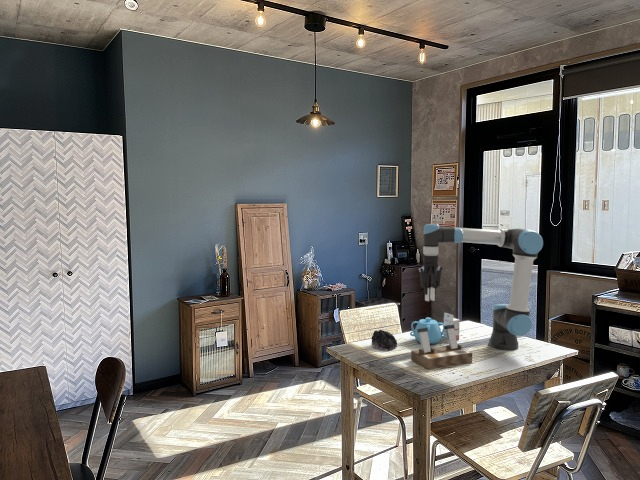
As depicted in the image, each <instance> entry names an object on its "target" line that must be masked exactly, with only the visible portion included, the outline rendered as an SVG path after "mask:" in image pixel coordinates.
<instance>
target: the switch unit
mask: <svg viewBox="0 0 640 480" xmlns="http://www.w3.org/2000/svg"><path fill="white" fill-rule="evenodd" d="M457 345H458V348H453V349H452V347H451V346H449V344H447V345H445V346H444V345H443V346H437V347H431V346H430V348H431V352H424V350H422V348H419V349H413V350H411V351H410V357H411V358H410V360H411V362H413V363H415V364H417V365H418V366H420V367H421V368H423V369H425V370H426V371H429V370H435V369H440V368H448V367H455V366H462V365H467V364H473V352H471V351H469V350H467V349H464V348H463V347H462V345H461V344H459V343H457Z"/></svg>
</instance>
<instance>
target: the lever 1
mask: <svg viewBox="0 0 640 480" xmlns="http://www.w3.org/2000/svg"><path fill="white" fill-rule="evenodd" d="M417 332H418V333H419V338H420V342H419V344H420V347H421V348H420V349H422V350H424V352H431V348H432V347H431V345H430V344H431V343H429V338H428V333H427V332H428V329H427V328H421V329H417ZM430 347H431V348H430Z"/></svg>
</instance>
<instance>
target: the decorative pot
mask: <svg viewBox="0 0 640 480" xmlns="http://www.w3.org/2000/svg"><path fill="white" fill-rule="evenodd" d="M415 324H416V326H415V328H414V325H415ZM440 325H441V326H442V329H441V327H440ZM444 326H445V325H444V322H438V321H437V320H435V319H432V317H428V316H427V317H425V319H424V318H422V319H419V320H418V321H416V320H415V321H412V322H411V325H410V327H411V331H410V332H409V335H410V336H411V337H414V339H415V340H416V341H417V342H419V343H420V338H419V333H418V332H417V329H421V328H427V329H428V332H427V333H428V338H429V343H430V344H431V345H437V344H438V343H439V342H440V341H441V339H446V338H445V337H446V335H445V334H444V330H445V328H444ZM443 335H444V336H443Z"/></svg>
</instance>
